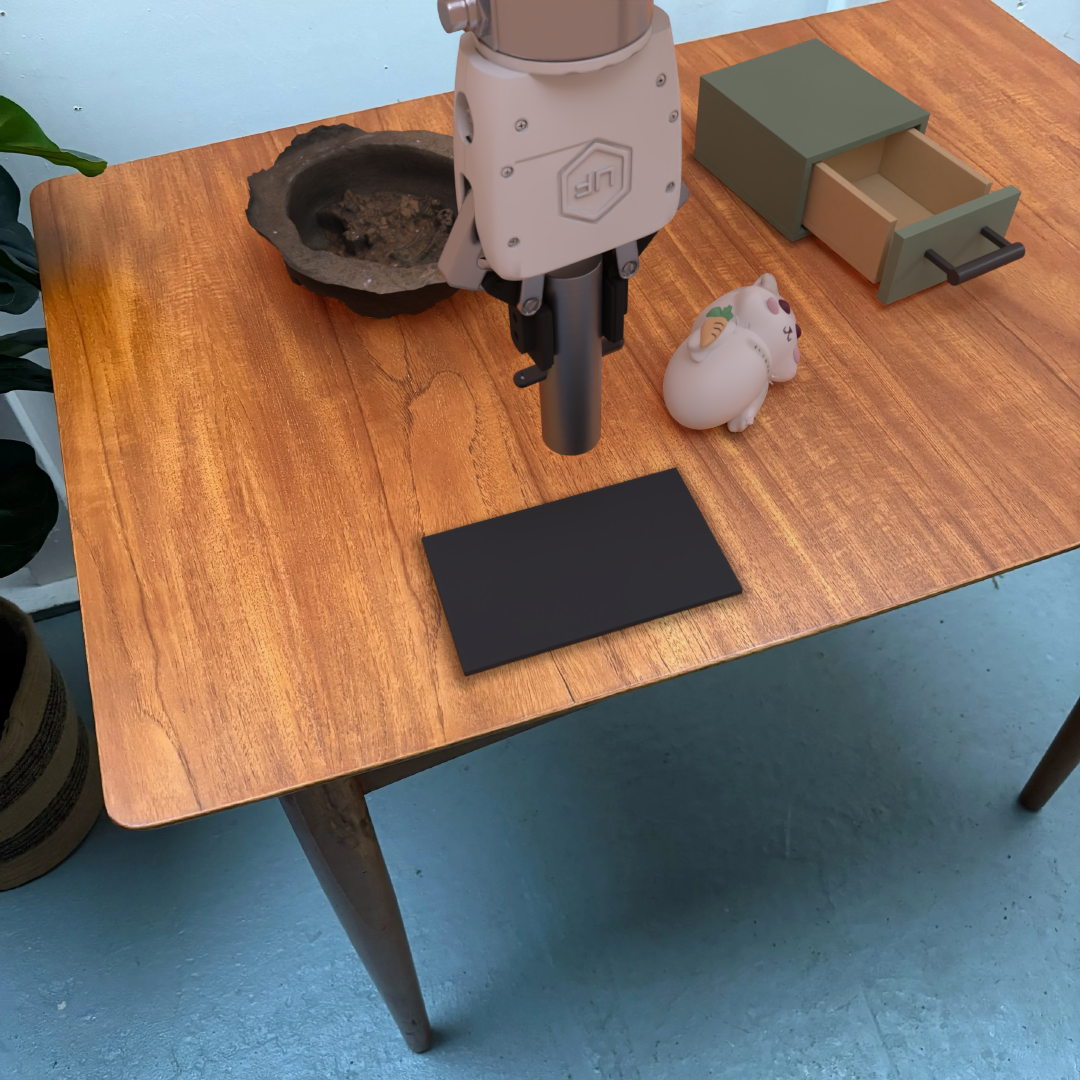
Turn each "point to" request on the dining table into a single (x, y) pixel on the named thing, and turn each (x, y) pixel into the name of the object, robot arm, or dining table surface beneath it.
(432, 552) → the base plate
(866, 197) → the drawer
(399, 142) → the stone bowl
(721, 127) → the cabinet
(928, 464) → the dining table surface
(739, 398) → the cat figurine
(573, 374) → the upright metal rod
